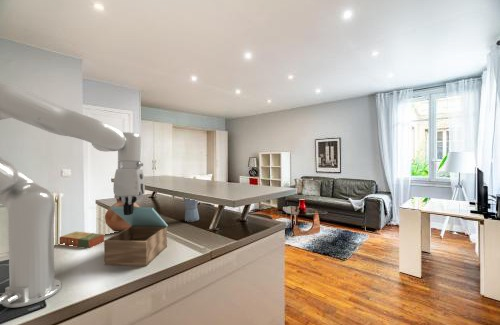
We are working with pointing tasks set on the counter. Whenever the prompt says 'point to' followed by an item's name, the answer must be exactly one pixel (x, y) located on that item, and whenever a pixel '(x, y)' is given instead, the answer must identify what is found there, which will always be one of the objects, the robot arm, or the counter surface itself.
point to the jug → (116, 218)
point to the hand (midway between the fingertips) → (128, 214)
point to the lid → (141, 216)
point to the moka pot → (191, 210)
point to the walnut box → (135, 246)
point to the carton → (82, 239)
